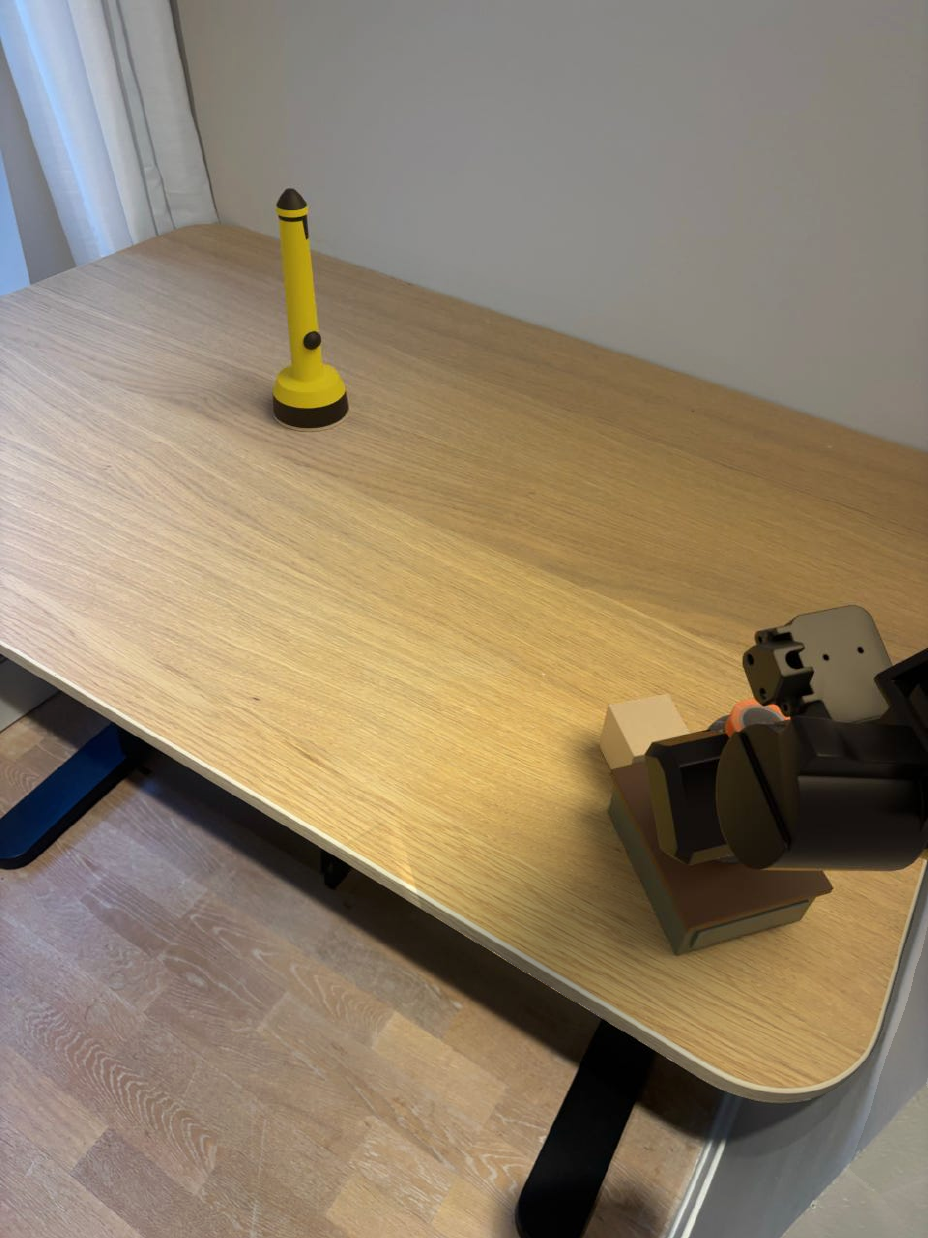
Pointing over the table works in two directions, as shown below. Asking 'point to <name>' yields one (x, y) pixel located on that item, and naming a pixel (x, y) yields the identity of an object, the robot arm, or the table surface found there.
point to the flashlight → (303, 334)
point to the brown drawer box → (703, 879)
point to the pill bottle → (738, 720)
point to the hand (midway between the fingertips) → (735, 748)
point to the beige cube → (638, 728)
